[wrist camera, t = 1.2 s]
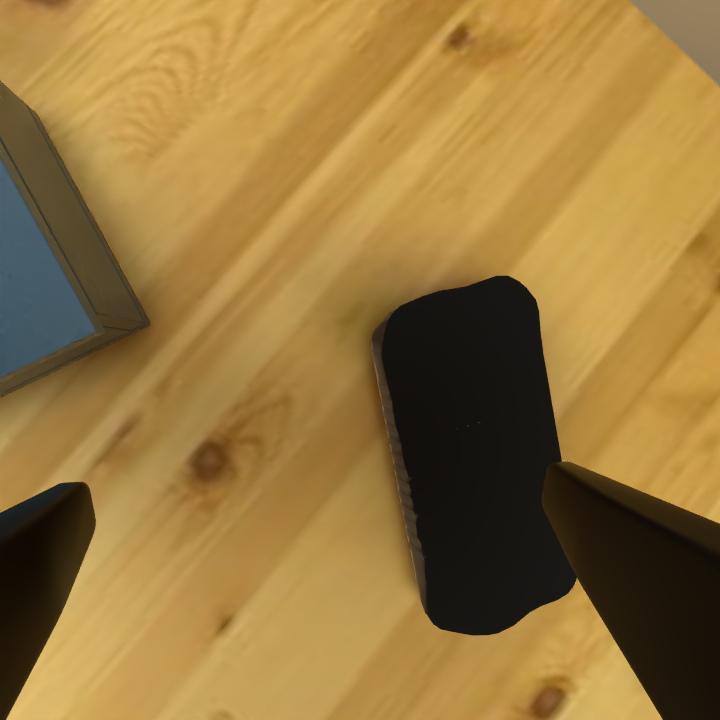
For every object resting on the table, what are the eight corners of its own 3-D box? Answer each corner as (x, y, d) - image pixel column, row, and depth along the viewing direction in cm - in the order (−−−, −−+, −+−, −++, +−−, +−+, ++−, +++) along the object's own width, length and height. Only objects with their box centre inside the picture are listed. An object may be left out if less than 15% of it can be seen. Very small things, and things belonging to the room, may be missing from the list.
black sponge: (359, 312, 23) (368, 304, 20) (508, 286, 24) (543, 274, 21) (413, 608, 24) (432, 653, 20) (556, 570, 25) (599, 608, 21)
